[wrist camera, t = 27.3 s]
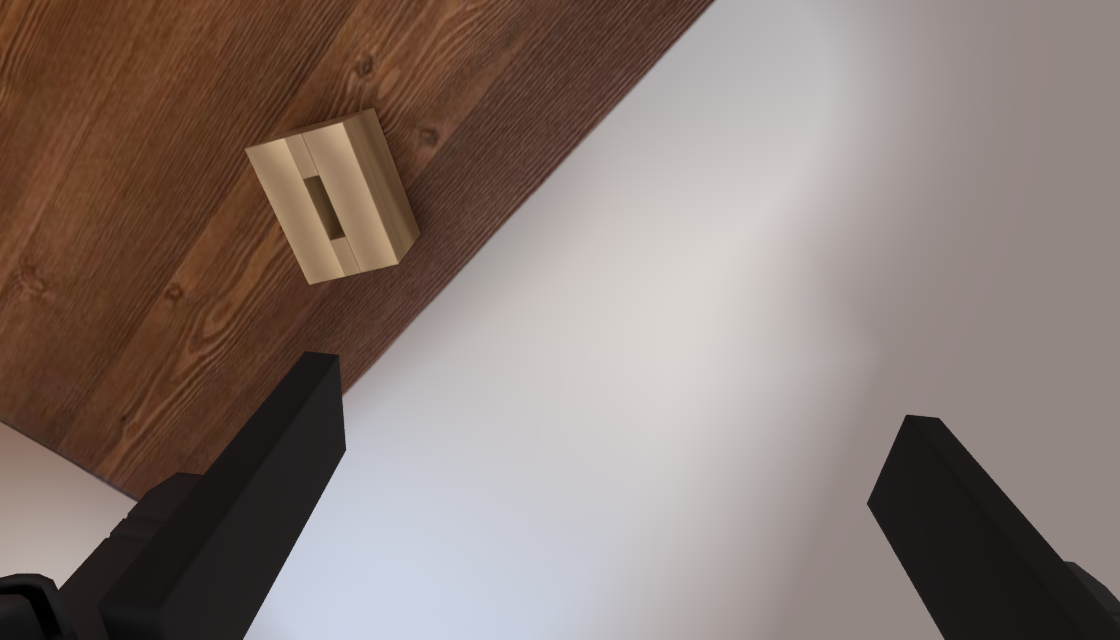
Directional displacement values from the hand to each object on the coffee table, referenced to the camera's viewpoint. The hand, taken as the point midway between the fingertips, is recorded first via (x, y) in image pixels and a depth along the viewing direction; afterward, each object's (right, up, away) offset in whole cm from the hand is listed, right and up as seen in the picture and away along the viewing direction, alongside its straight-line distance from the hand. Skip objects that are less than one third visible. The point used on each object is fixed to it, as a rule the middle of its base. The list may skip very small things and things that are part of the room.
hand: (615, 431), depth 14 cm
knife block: (-17, +13, +33) cm, 39 cm away
